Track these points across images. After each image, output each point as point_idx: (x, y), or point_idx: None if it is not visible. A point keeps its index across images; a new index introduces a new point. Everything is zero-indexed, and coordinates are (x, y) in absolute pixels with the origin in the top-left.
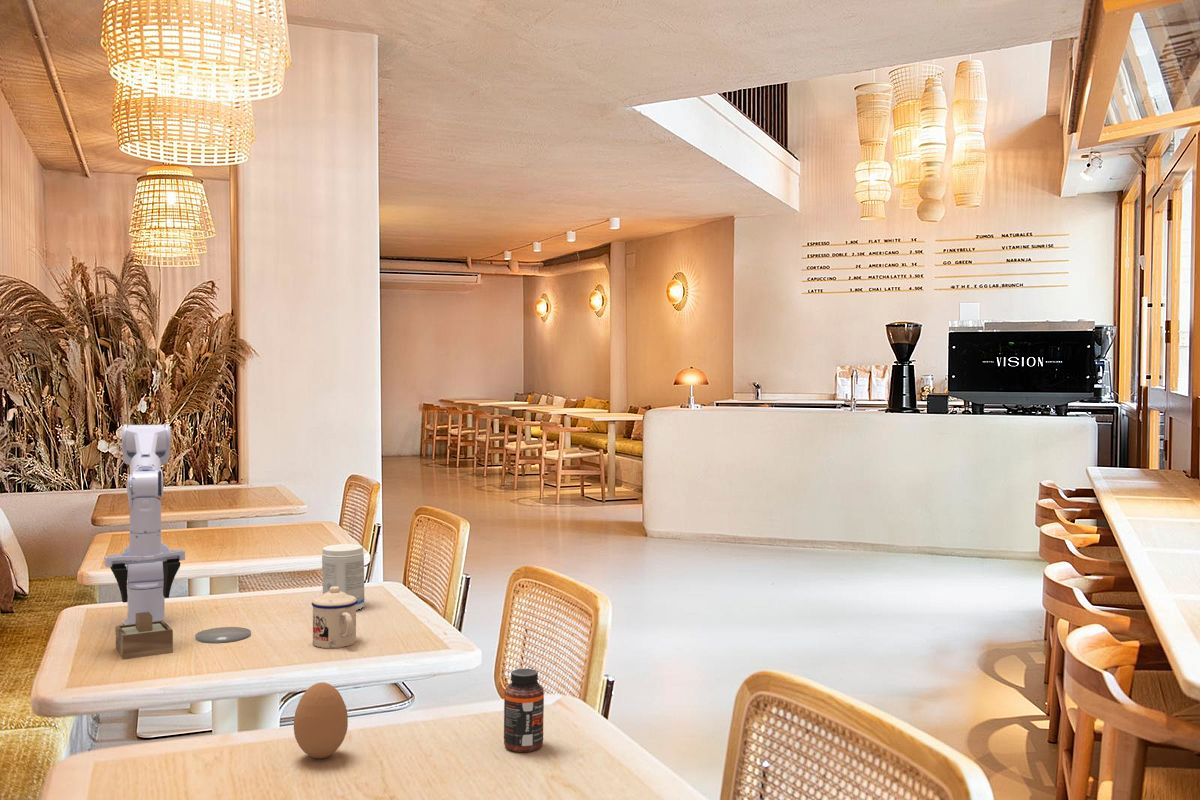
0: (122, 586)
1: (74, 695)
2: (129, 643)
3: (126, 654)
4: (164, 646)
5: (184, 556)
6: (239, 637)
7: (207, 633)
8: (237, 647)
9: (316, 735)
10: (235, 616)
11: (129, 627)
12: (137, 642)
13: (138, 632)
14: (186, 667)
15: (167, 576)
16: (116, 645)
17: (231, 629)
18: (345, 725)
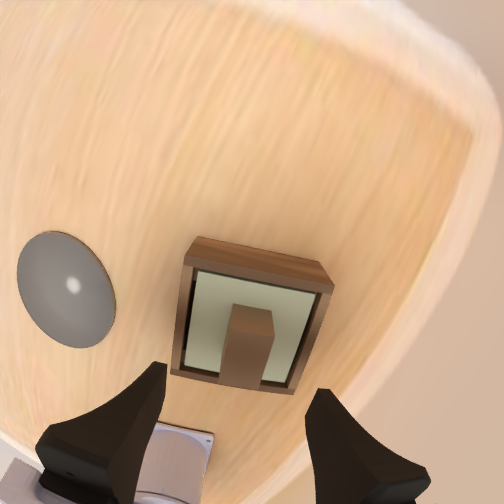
0: (360, 430)
1: (474, 78)
2: (312, 273)
3: (314, 263)
4: (216, 246)
5: (8, 472)
6: (41, 234)
7: (85, 319)
8: (64, 173)
9: None
10: (36, 393)
11: (266, 375)
12: (290, 268)
13: (273, 311)
14: (232, 71)
15: (133, 421)
16: None
17: (42, 311)
18: None
